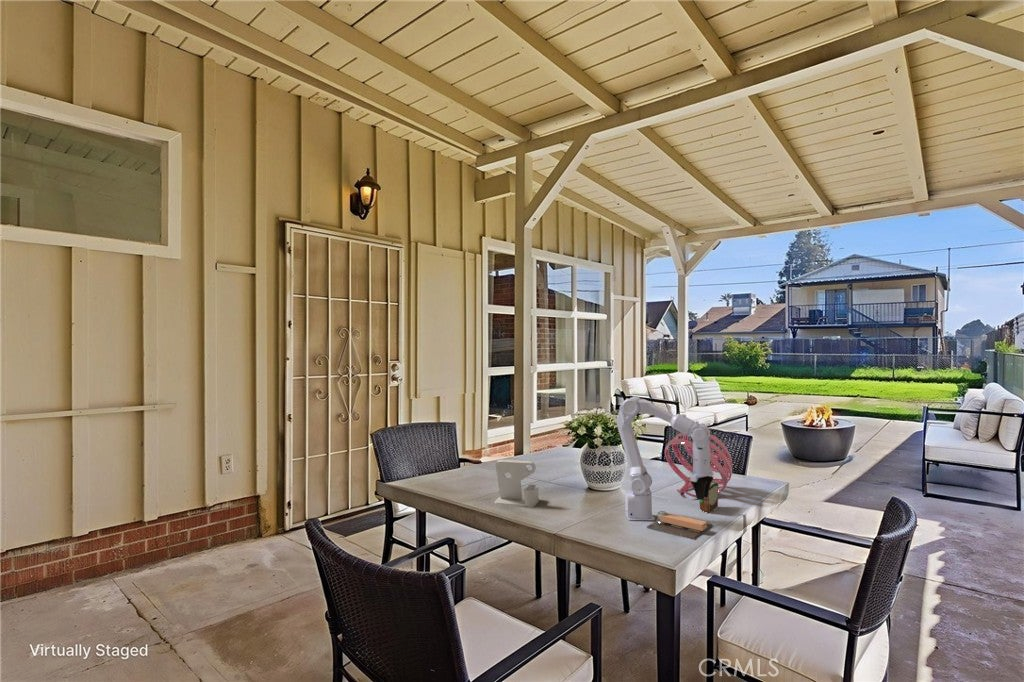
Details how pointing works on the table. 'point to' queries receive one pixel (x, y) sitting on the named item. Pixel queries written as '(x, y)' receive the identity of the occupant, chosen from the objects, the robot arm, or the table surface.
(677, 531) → the label plate
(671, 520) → the swing bar
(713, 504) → the food container
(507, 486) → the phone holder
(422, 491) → the table surface
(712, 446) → the spiral basket
